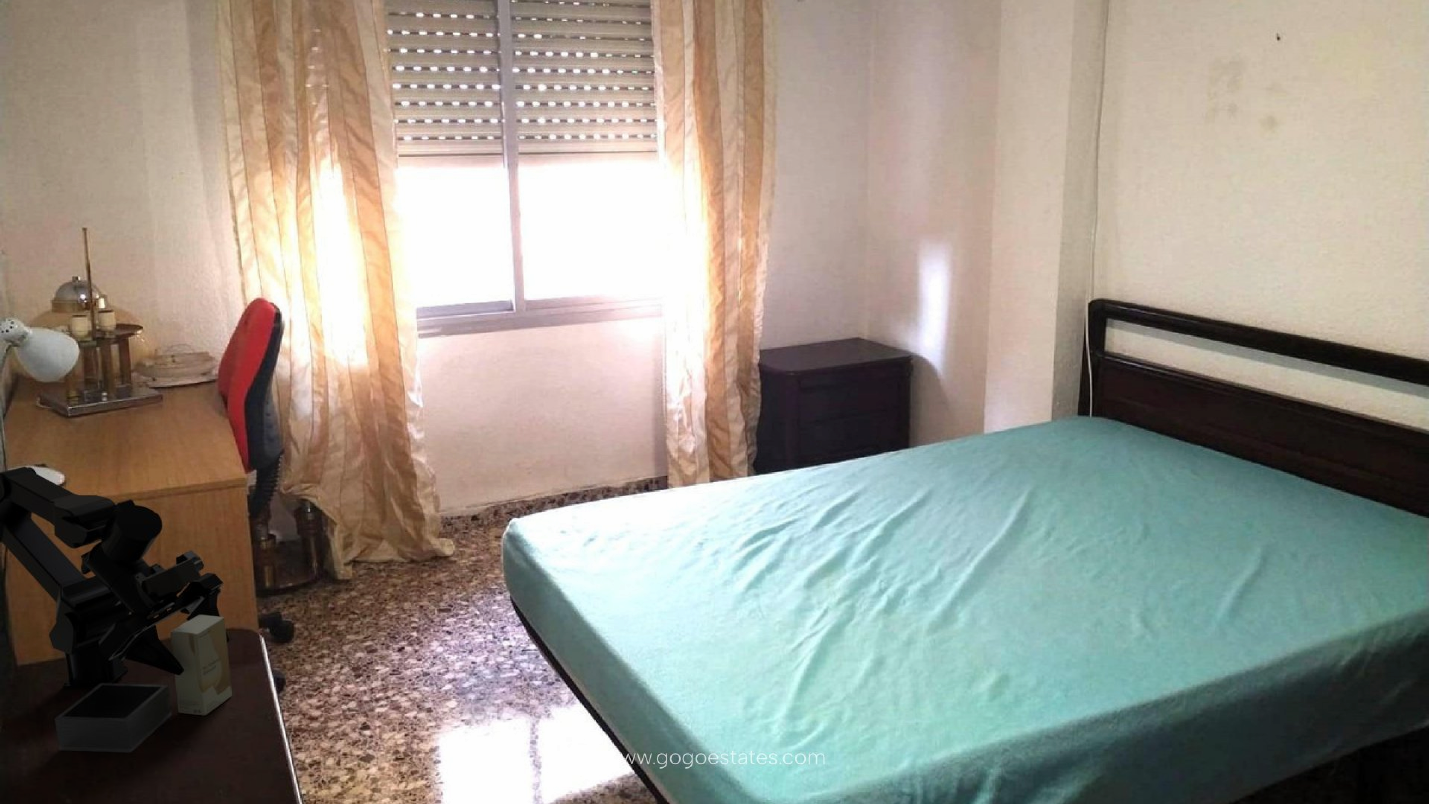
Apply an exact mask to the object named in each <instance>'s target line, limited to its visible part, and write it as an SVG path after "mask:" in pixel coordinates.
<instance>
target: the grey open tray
mask: <svg viewBox="0 0 1429 804" xmlns="http://www.w3.org/2000/svg"><path fill="white" fill-rule="evenodd" d="M171 716H173V712H172V705H171V697H170V688H169V684H149V683H147V684H143V683H142V684H141V683H114V682H113V683H100V684H99V685H98V686H96V687H95V688H94V689H90V691H89V692H87V693H86V694H85V695H83V696H82V697H80V698H79V699H78V700H77V701H76V702H74V703H73V704H71V705H70V707H68V708H67V709H65V710H64V711H63V712H62V713H60V714H59V715H58V716H56V717H55V718H54V722H55V728H56V730H55V731H56V736H57V741H58V742H57V743H58V749H59V751H70V752H71V751H72V752H74V751H75V752H76V751H77V752H100V753H103V752H104V753H105V752H106V753H107V752H108V753H132V752H133V751H134V750H136V749H137V748H139V746H140V745H141V744H143V742H144V741H145V740H146V739H147V738H148V737H150V736H151V734H153V733H154V732H155V731H156V730H157V729H159V727H160V726H161V725H162V724H163V723H165V722H166V721H167V720H168V719H170V717H171Z"/></svg>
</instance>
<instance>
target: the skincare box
mask: <svg viewBox="0 0 1429 804" xmlns="http://www.w3.org/2000/svg"><path fill="white" fill-rule="evenodd" d="M169 632H170V633H169V634H170V635H169V636H170V643H171V651H172V652H171V653H172V655H173V656H174V657H175V658H176V659H177V660H178V661H179V663H180V664H181V666H182V667H183V668H184V672H183V673H182V674H181V675H176V674H174V680H175V690H176V697H177V698H176V699H177V708H178V713H181V714H186V715H187V714H189V715H197V716H198V715H199V716H206V715H208V714H209V713H211V712H212V711H213V710H215V709H217V707H219V706H220V705H222V704H223V703H224V702H225V701H227V700H229V698H231V697H232V696H233V692H232V682H231V673H230V662H229V652H228V651H229V650H228V644H227V640H226V632H227V630H226V621H225V617H223V616H220V617H217V616H208V615H198V616H196V617H194V618H193V619H191V620H189V621H188V620H186V621H185V622H183V623H182V624H181V625H179V626H177V627H176V628H174V629H172V630H170V631H169Z"/></svg>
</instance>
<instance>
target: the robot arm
mask: <svg viewBox="0 0 1429 804" xmlns="http://www.w3.org/2000/svg"><path fill="white" fill-rule="evenodd" d="M32 513H33V514H34V515H36V516H37V517H40V518H42V519H43V520H45V521H47V522H49V523H50V524H51V525H53V529H54V530H53V532H54V536H55V537H56V538H57V539H58V540H60V541H61V542H62V543H63V544H64V545H65V546H67V547H68V548H70V549H73V550H75V549H78V548H82V547H86V546H89V545H91V544H95V543H96V544H95V545H94V546H93V547H92V548H91V550H88V551H86V552H84V553H83V554H81V555H80V558H81V564H80V570H81V571H80V570H79V568H77V566H76V565H75V564H74V563H73V562H72V561H71V560H70V559H69V557H68V556H66V555H65V553H64V552H63V551H62V550H61V549H60V548H59V547H58V546H57V545H56V544H55V543H54V541H53V540H52V539H51V538H50V537H49V536H48V535H47V534H46V533H45V532H44V531H43V529H41V528H40V526H39V525H38V524H37V523H36V522H35V521H34V520H33V519H32ZM162 530H163V519H162V518H161V516H160V515H159V513H158V512H155V511H154V510H152V509H151V508H149V507H146V506H143V505H138V504H136V503H135V502H134V500H133V499H127V500H123V501H119V502H117V503H115V502H114V501H113V500H112V499H111V498H108V497H104V496H101V495H98V494H76V493H74V492H72V491H70V490H68V489H66V488H64V487H62V486H60V485H59V484H56V483H55V482H53V481H51V480H49V479H48V478H45V477H44V476H41V475H39V474H38V473H37V472H36V470H35V469H34V468H33V467H31V466H28V467H27V466H21V467H16V468H12V469H9V470H4V471H0V543H1V544H3V545H4V547H6V548H7V550H9V552H10V553H11V554H12V555H13V556H14V557H15V558H16V559H17V561H18V563H20V564H21V565H22V566H23V568H25V570H26V571H27V572H28V573H29V574H30V575H31V576H32V578H34V579H35V581H36V582H37V583H38V584H39V585H40V586H41V587H42V588H43V589H44V590H45V592H46V593H47V594H48V595H49V596H50V597H51V598H52V600H53V601H54V602H55V604H56V606H55V609H56V610H55V624H54V625H53V627H52V629H51V630H50V631H49V633H48V638H49V640H50V642H51V646H52V648H53V649H55V650H58V651H60V652H62V653H64V657H65V663H66V670H67V676H68V679H67V680H66V681H64V682H63V683H61V688H62V689H75V690H77V689H78V690H92V689H94V688H95V687H96V686H98V685H99V684H100V683H114V682H116V681H117V680H118V679H119V678H120V677H122V676H123V675H124V674H125V673H127V672H128V671H129V670H130V668H129V667H130V666H129V665H125V664H124V660H128V661H131V662H136V663H139V664H143V665H147V666H150V667H153V668H155V669H158V670H161V671H165V672H167V673H171V674H172V675H175V674H176V675H181V674H182V673H183V672H184V668H183V667H182V666H181V664H180V663H179V661H178V660H177V659H176V658H175V657H174V656H173V654H172V652H171V651H170V650H169V649H168V648H167V647H166V646H165V644H164V643H163V642H162V641H161V640H160V637H159V633H158V630H157V625H158V624H159V623H161V622H163V621H165V620H166V619H168V618H170V617H172V616H174V615H175V614H177V613H179V612H180V613H181V614H184V615H188V616H187V617H186V619H185V620H186V621H189V620H191V619H193V618H194V617H196V616H198V615H208V616H217V617H221V615H220V611H219V609H218V598H219V597H218V596H219V595H220V594H221V592H222V590H221V587H222V586H223V585H224V584H225V583H224V581H223V580H221V578H219V577H218V575H217V574H216V573H211V572H205V573H204V574H202V575H201V573H200V571H202V570H203V569H204V567H205V565H204V561H203V560H202V558H201V557H200V556H199V555H198V554H196V553H195V551H194V550H192V549H190V550H189V551H186V552H184V553H182V554H180V555H178V556H176V557H175V563H176V564H174V565H172V566H171V567H168V568H166V569H165V568H164V567H163V566H162V565H161V564H158V563H154V564H152V565H150V564H149V563H148V562H146V560H144V557H145V555H146V554H147V553H148V551H149V550H150V549H151V547H152V546H153V544H154V543H155V541H156V540H157V538H158V537H159V535H160V533H161V532H162ZM90 572H92V573H93V575H94V576H90V577H86V575H88V574H89V573H90ZM178 594H179V595H178ZM226 640H227V645H228V644H229V643H230V642H231V641H230V637H229V635H228V633H227V631H226Z"/></svg>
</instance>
